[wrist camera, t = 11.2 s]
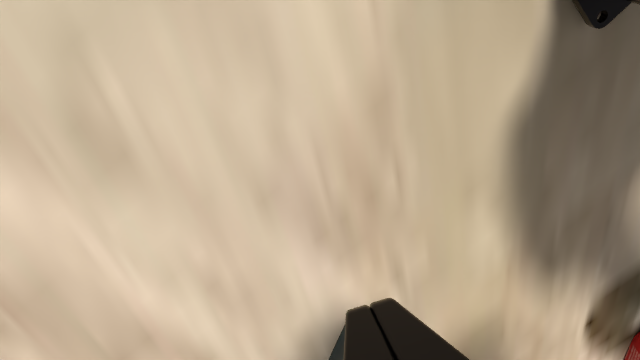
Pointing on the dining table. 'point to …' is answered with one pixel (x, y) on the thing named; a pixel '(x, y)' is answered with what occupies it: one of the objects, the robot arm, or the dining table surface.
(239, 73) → the dining table surface
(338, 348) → the watch
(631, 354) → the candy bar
